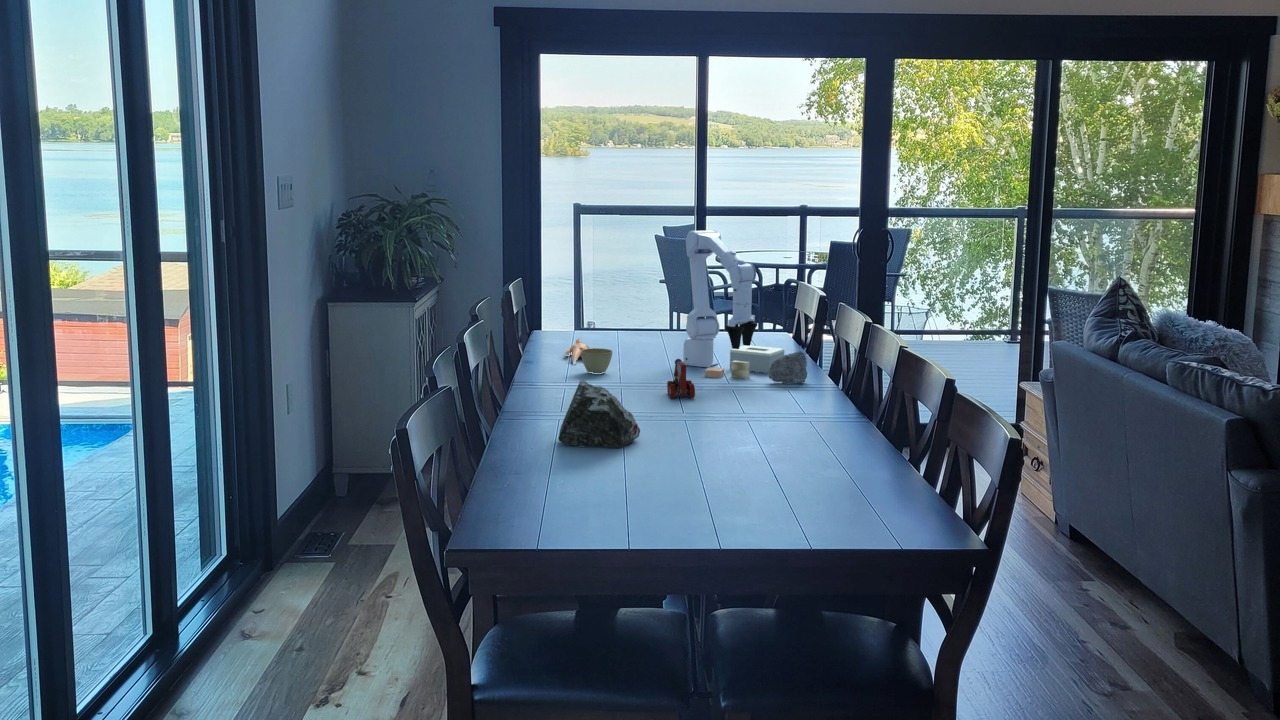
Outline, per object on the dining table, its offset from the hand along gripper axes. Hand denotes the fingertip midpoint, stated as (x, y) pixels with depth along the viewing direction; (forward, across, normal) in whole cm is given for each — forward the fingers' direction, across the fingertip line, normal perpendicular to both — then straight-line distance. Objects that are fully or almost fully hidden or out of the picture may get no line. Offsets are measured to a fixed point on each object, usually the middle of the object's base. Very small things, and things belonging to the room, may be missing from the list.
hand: (741, 347), depth 335 cm
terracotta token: (+10, -2, +8) cm, 13 cm away
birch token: (+10, 0, 0) cm, 10 cm away
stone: (+10, -92, -7) cm, 93 cm away
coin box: (+10, +16, +2) cm, 19 cm away
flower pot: (+10, -19, +41) cm, 46 cm away
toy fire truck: (+10, -34, +2) cm, 36 cm away
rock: (+10, 0, -16) cm, 19 cm away
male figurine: (+10, 0, +60) cm, 61 cm away
